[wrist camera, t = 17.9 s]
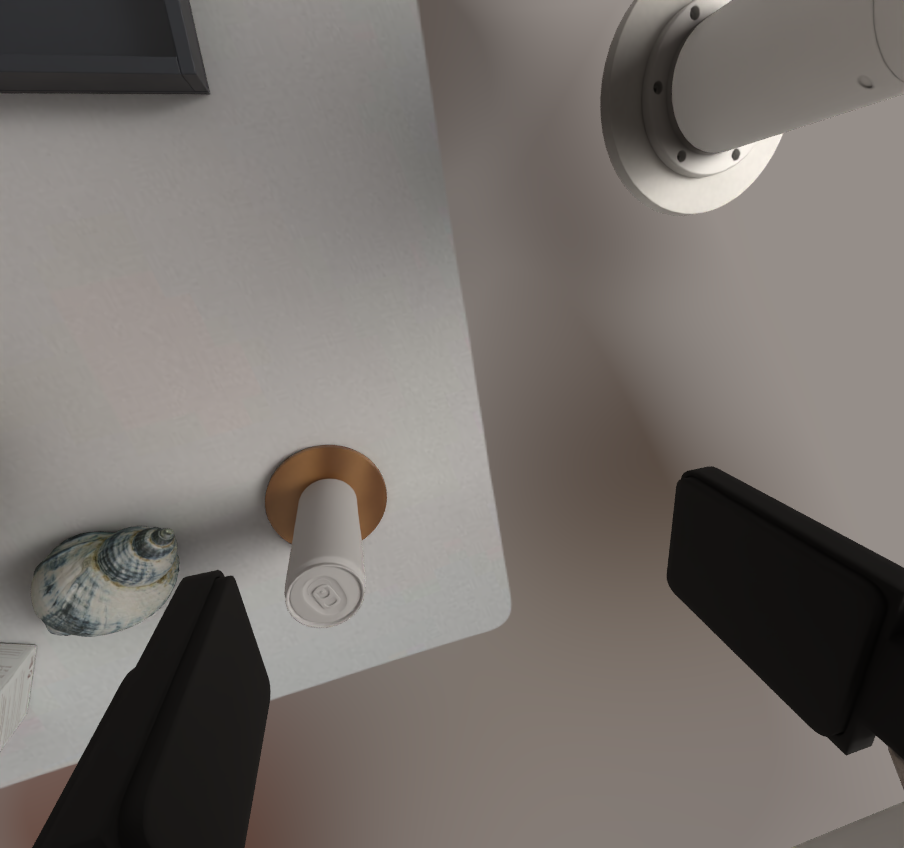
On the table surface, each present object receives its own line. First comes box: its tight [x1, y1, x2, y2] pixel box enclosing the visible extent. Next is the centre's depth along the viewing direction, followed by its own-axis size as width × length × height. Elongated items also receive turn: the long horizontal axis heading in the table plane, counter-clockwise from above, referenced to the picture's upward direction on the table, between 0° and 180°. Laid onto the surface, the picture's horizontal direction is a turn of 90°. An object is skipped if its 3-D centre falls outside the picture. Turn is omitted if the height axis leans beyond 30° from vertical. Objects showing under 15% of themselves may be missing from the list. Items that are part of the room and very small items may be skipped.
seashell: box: [31, 526, 179, 637], centre depth 32 cm, size 6×8×12 cm
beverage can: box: [285, 479, 366, 628], centre depth 31 cm, size 5×5×12 cm
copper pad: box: [265, 445, 387, 544], centre depth 37 cm, size 10×10×1 cm
